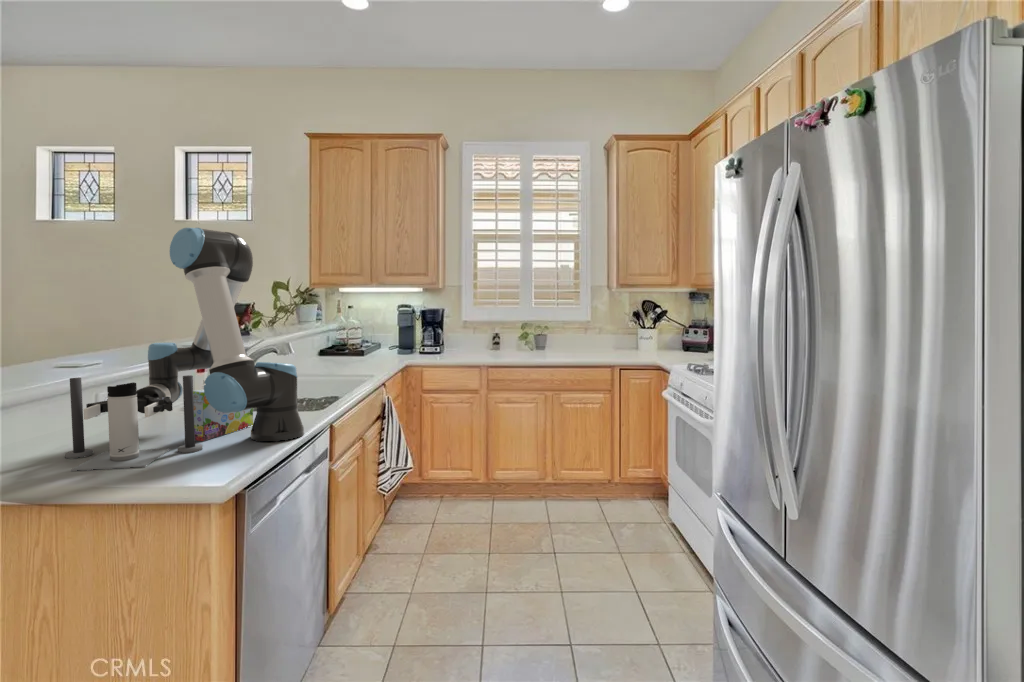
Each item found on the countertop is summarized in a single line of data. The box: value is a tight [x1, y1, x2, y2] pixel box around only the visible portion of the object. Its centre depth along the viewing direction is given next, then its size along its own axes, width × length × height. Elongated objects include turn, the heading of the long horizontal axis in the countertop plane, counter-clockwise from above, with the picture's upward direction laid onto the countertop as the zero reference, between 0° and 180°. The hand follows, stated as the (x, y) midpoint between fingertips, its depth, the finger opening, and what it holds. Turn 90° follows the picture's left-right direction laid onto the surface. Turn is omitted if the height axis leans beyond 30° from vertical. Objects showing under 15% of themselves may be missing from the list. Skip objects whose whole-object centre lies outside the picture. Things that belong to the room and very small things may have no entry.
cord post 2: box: [177, 374, 204, 454], centre depth 150 cm, size 6×6×21 cm
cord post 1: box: [64, 377, 94, 459], centre depth 144 cm, size 6×6×21 cm
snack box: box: [193, 388, 254, 442], centre depth 170 cm, size 21×6×15 cm, turn 167°
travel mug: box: [107, 382, 140, 461], centre depth 140 cm, size 6×7×20 cm
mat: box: [70, 448, 170, 472], centre depth 141 cm, size 16×16×1 cm
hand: (116, 413), depth 137 cm, fingers open, 13 cm apart
